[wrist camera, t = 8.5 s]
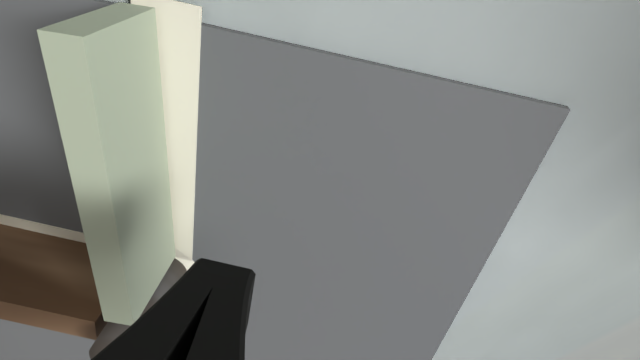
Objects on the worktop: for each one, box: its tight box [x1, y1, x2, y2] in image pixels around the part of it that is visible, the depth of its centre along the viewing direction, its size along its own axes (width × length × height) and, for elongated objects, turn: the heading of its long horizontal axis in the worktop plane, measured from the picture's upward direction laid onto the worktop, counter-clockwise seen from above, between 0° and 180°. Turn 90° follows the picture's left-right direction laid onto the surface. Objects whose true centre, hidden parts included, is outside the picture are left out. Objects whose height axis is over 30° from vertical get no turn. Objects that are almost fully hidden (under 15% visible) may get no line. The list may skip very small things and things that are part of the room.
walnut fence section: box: [0, 224, 187, 359], centre depth 19 cm, size 2×13×5 cm, turn 79°
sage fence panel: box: [37, 2, 176, 326], centre depth 15 cm, size 1×11×4 cm, turn 173°
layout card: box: [0, 0, 570, 360], centre depth 21 cm, size 25×27×1 cm
